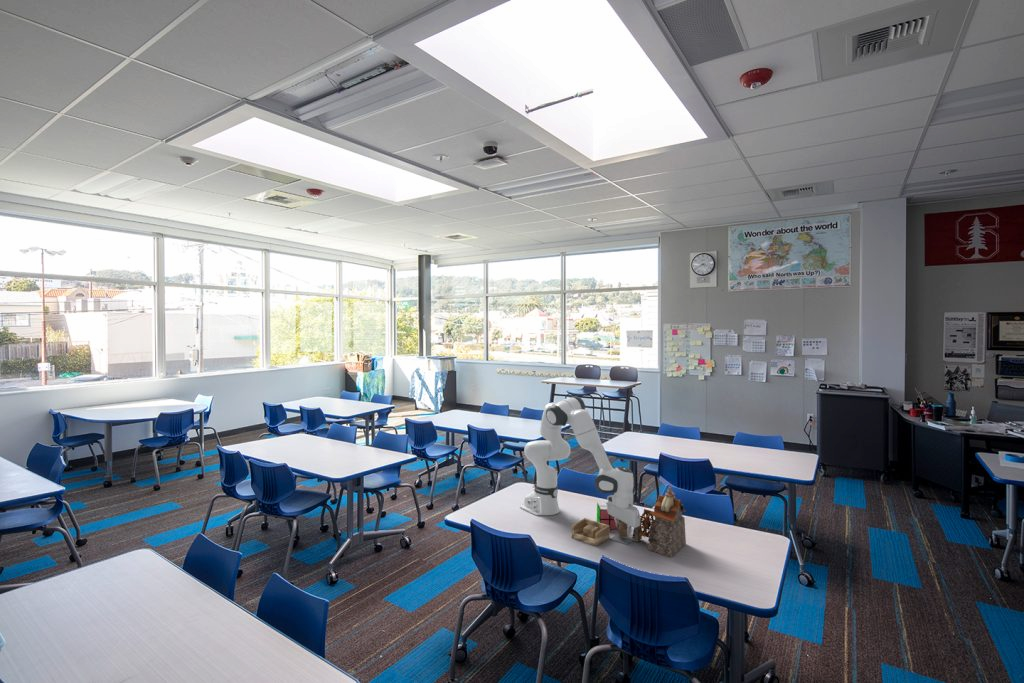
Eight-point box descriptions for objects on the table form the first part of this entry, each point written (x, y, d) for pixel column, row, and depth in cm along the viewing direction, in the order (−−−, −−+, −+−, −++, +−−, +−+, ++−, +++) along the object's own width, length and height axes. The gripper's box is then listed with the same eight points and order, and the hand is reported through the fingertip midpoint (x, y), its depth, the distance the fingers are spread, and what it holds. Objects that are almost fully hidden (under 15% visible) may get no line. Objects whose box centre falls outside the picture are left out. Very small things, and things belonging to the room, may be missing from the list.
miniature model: (644, 530, 241) (646, 471, 239) (686, 543, 227) (688, 481, 226) (627, 543, 227) (630, 480, 225) (671, 557, 213) (674, 491, 212)
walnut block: (618, 536, 230) (619, 522, 230) (618, 533, 234) (618, 518, 234) (627, 537, 229) (627, 522, 229) (626, 533, 233) (627, 519, 233)
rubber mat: (610, 539, 231) (610, 538, 231) (618, 533, 238) (618, 532, 238) (627, 545, 225) (627, 544, 225) (635, 538, 232) (635, 537, 232)
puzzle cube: (619, 529, 243) (619, 509, 243) (599, 529, 243) (599, 509, 243) (615, 521, 253) (616, 502, 253) (596, 521, 253) (596, 502, 253)
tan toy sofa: (571, 537, 232) (571, 525, 232) (584, 529, 242) (584, 518, 242) (597, 546, 224) (597, 533, 223) (609, 537, 233) (609, 525, 233)
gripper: (644, 507, 223) (643, 537, 224) (614, 493, 241) (614, 520, 242) (633, 509, 220) (632, 539, 221) (605, 495, 238) (604, 523, 239)
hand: (623, 529), depth 232 cm, fingers closed on walnut block, 5 cm apart
